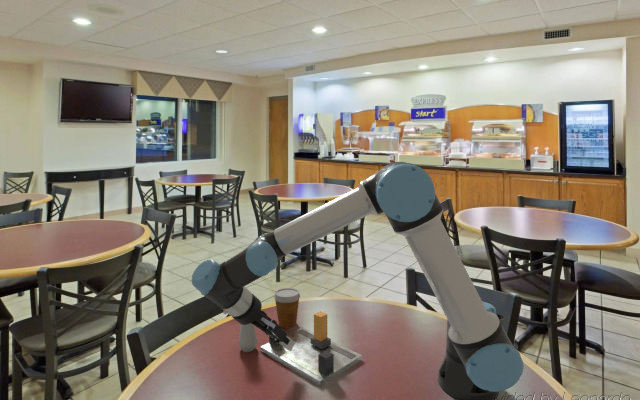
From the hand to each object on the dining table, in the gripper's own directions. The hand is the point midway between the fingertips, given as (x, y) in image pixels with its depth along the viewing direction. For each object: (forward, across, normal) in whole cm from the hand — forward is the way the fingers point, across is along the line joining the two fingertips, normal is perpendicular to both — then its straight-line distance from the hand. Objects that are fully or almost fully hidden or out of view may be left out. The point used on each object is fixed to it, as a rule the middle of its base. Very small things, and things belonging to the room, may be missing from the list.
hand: (291, 346), depth 110 cm
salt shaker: (+2, -18, -6) cm, 19 cm away
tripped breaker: (+12, -1, +6) cm, 13 cm away
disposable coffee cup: (+16, -22, +8) cm, 28 cm away
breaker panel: (+10, -1, +2) cm, 10 cm away
